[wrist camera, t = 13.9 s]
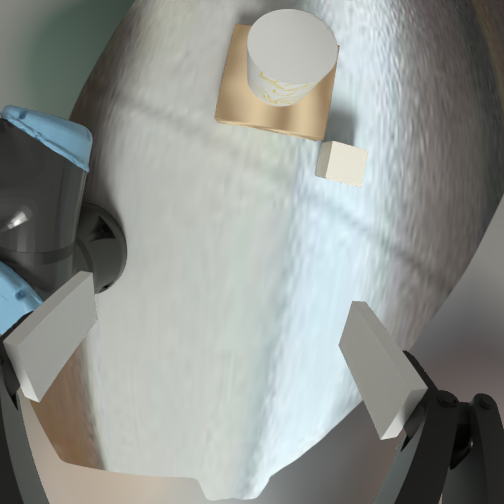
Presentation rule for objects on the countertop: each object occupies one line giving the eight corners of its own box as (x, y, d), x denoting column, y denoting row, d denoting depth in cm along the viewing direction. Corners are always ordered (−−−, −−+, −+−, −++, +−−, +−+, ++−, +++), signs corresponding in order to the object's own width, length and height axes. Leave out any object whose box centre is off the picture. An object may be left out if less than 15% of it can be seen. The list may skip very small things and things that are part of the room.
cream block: (314, 175, 41) (325, 178, 36) (321, 142, 40) (333, 140, 34) (346, 183, 42) (360, 187, 36) (352, 151, 40) (368, 150, 34)
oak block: (218, 122, 39) (214, 117, 34) (236, 37, 34) (235, 23, 30) (314, 141, 40) (323, 139, 35) (329, 56, 35) (339, 45, 31)
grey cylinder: (249, 108, 34) (251, 86, 22) (244, 51, 31) (243, 10, 20) (314, 105, 33) (343, 85, 22) (307, 49, 31) (331, 11, 20)
